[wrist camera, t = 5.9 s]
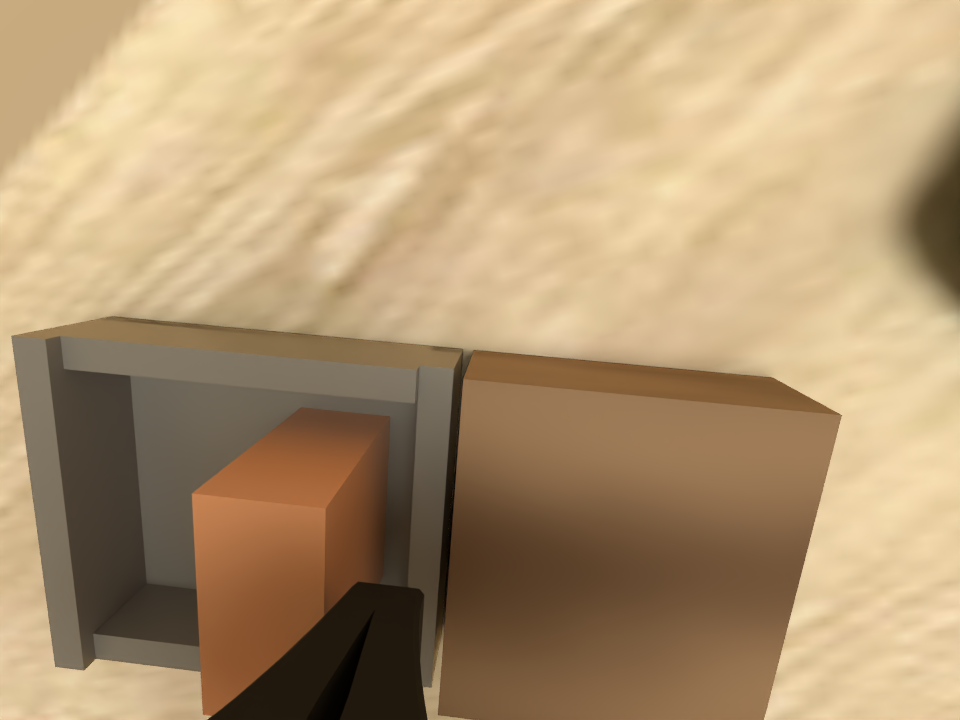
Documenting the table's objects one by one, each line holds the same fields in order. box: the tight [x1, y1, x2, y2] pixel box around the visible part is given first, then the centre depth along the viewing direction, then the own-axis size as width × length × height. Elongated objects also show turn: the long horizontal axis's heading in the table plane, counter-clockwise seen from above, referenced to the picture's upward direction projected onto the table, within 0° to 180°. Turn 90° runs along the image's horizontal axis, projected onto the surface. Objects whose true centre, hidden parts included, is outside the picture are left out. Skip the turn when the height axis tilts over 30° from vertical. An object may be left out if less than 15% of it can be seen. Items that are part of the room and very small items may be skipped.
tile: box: [192, 407, 390, 716], centre depth 12 cm, size 5×5×2 cm
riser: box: [438, 350, 842, 720], centre depth 14 cm, size 9×8×3 cm
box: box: [11, 317, 463, 687], centre depth 14 cm, size 9×10×3 cm
